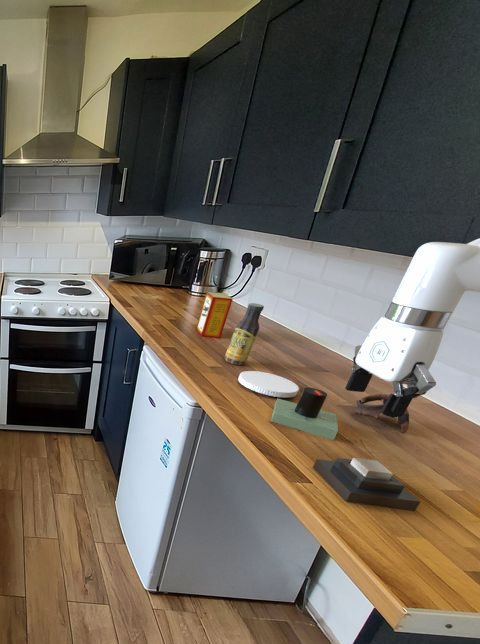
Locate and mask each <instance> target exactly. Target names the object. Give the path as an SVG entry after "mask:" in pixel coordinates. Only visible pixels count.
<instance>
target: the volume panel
mask: <svg viewBox="0 0 480 644" xmlns="http://www.w3.org/2000/svg"><path fill="white" fill-rule="evenodd" d="M296 406H297V403H296V402H292V401H289V400H285V399H281V398H277V399H276V400H275V403H274V405H273V410H272V414H271V419H270V422H272V423H275V424H279V425H281V426H284V427H289V428H292V429H295V430H298V431H301V432H305V433H309V434H312V435H315V436H318V437H322V438H325V439H329V440H332V441H334V440H335V438H336V437H337V435H338V433H339V425H338V416H337V414H336V413H333V412H329V411H326V410H323V409H321V410H320V412H319V414H318V416H317V417H316V418H309V417H305V416H302V415H300V414H298V413H296V412H295V408H296Z"/></svg>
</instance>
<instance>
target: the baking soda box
mask: <svg viewBox="0 0 480 644" xmlns="http://www.w3.org/2000/svg"><path fill="white" fill-rule="evenodd" d="M205 293H206V294H205V297H204V300H203V304H202V307H201V311H200V315H199V317H198V322H197V325H196V328H195V329H196V331H197V332H198V334H199V335H200V336H201V337H204V338H213V339H221V337H222V334H223V332H224V328H225V324H226V322H227V319H228V315H229V313H230V310H231V306H232V302H233V300H234V299H233V298H232V297H231V296H229V294H227V293H225V292H215V291H206V292H205Z"/></svg>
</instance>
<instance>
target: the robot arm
mask: <svg viewBox="0 0 480 644" xmlns="http://www.w3.org/2000/svg"><path fill="white" fill-rule="evenodd" d="M469 291H471V292H477V293H480V237H479V238H477V239H474V240H472V241H470V242H467V243H459V242H444V241H431V242H430V241H429V242H426V243H424V244H422V245H420V246H419V247H418V248H417V250H416V251H415V252H414V254H413V257H412V259H411V261H410V263H409V265H408V267H407V269H406V271H405V273H404V275H403V277H402V279H401V282H400V283H399V285H398V288H397V290H396V291H395V294H394V296H393V298H392V299H391V302H390V304H389V306H388V309H387V310H386V313H385V314H384V316H381V317H380V318H379V320H378V321H377V322H376V323H375V324H374V326H373V327H372V328H371V330H370V331H369V333H368V335H367V336H366V337H365V340H364V341H363V343H362V344H361V345H356V346H355V348H354V356H353V358H352V362H353V365H352V367H351V371H352V372H351V375H350V376H349V379H348V381H347V383H346V386H345V387H344V389H345V390H346V391H348V392H357V393H364V392H366V390H367V387H368V386H369V383H370V382H371V379H372V377H373V375H374V376H375V377H377V378H379V379H381V380H383V381H385V382H390V383H392V386H393V387H392V388H393V393H390V394H388V395H389V397H388V399H387V400H386V402H385V404H384V406H383V408H382V410H381V412H380V414H382V415H384V416H386V415H390V416H399V417H401V416H403V415H404V413H405V411H406V409H407V410H408V408H409V406H410V404H411V402H412V400H413V399H415V400H416V399H418V398H419V397H420V396H423V395H426V394H427V392H428V391H430V390H431V389H433V388H434V387H435V386H436V385H437V381H436V379H435V378H434V377H433V375H432V374H431V372H430V371H429V370H430V368H431V366H432V365H433V363H434V360H435V358H436V356H437V353H438V351H439V348H440V346H441V342H442V339H443V335H444V329H445V328H446V325H448V322H449V320H451V317H452V315H453V313H454V311H455V310H456V308H457V306H458V304H459V302H460V301H461V299H462V297H463V295H464V293H465V292H469ZM404 385H406V387H407V388H404Z"/></svg>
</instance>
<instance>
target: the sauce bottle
mask: <svg viewBox="0 0 480 644" xmlns="http://www.w3.org/2000/svg"><path fill="white" fill-rule="evenodd" d="M264 307H265V306H264V305H263V304H260V303H256V302H255V303H254V302H250V303H248V305H247V309H246V311H245V314H244V316H243V318H242V319H241V320H240V321H239V322H238V324H237V325H236V327H235V328H234V331H233V333H232V336H231V339H230V340H229V341H230V342H229V344H228V347H227V350H226V352H225V355H224V361H225V362H227V363H228V364H232V365H234V366H244V365H245V364H246V362H247V361H248V359H249V356H250V354H251V351H252V349H253V346H254V344H255V342H256V339H257V335H258V333H259V331H260V323H259V319H260V316H261V313H262V312H263V311H264Z"/></svg>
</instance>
